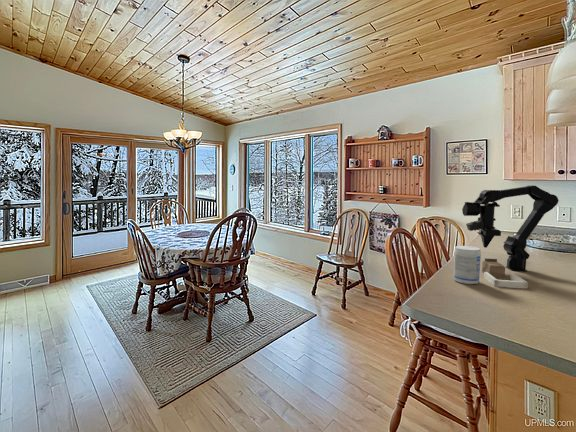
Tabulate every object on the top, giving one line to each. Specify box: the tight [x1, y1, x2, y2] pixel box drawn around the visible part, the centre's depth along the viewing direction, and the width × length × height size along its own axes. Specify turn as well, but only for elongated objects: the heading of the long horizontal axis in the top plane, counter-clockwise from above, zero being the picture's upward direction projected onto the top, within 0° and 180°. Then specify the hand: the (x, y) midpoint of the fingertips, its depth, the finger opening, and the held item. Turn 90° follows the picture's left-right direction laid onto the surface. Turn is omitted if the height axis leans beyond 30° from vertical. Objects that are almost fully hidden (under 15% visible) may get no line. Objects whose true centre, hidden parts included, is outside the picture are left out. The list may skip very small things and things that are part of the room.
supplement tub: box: [453, 245, 481, 285], centre depth 127 cm, size 10×10×15 cm
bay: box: [483, 272, 529, 290], centre depth 125 cm, size 12×11×2 cm
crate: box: [481, 258, 506, 279], centre depth 137 cm, size 9×6×7 cm, turn 164°
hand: (485, 247), depth 146 cm, fingers closed
